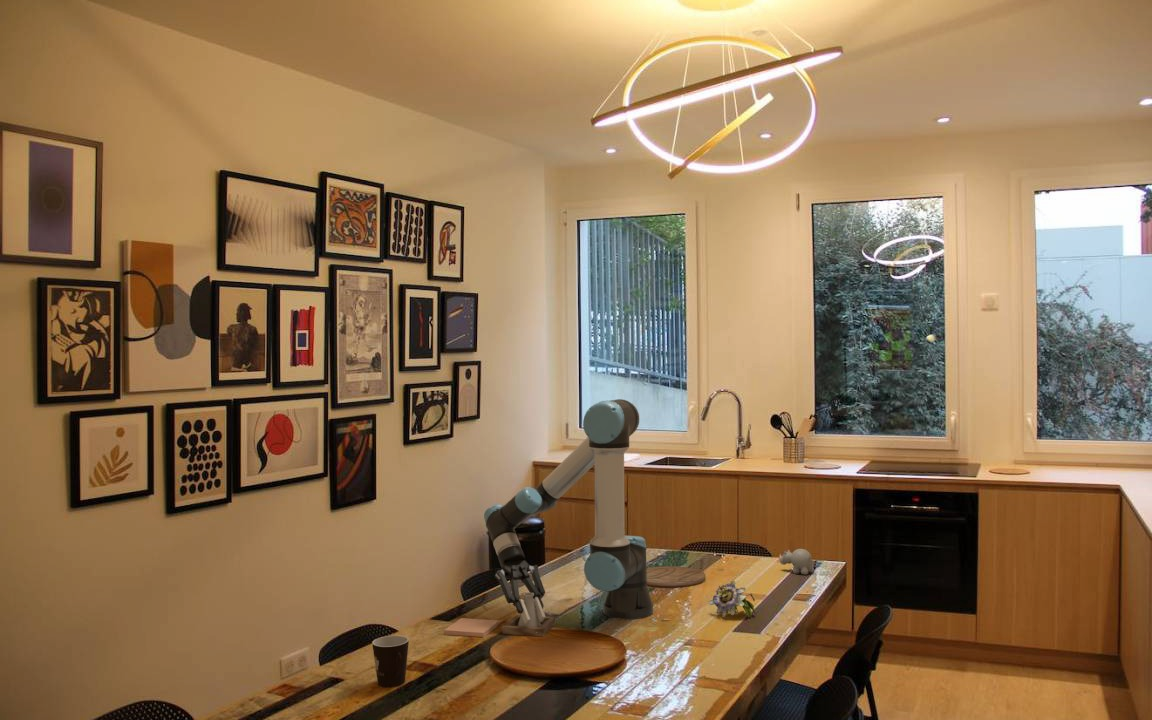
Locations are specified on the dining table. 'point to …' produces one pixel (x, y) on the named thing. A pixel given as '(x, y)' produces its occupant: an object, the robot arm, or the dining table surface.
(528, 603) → the flask
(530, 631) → the walnut holder
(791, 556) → the chubby cartoon animal
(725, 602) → the passion flower
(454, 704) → the dining table surface
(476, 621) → the terracotta coaster
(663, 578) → the trivet
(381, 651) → the coffee mug
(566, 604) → the dining table surface
